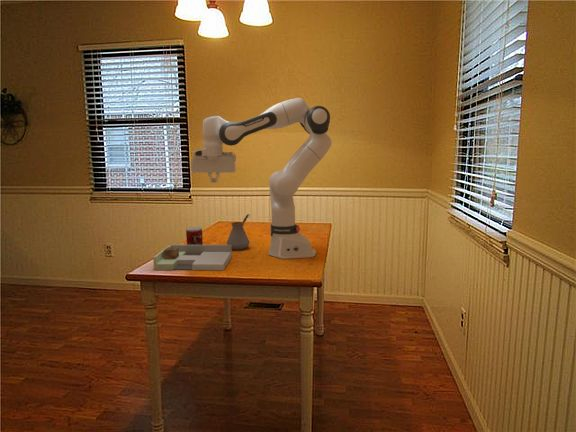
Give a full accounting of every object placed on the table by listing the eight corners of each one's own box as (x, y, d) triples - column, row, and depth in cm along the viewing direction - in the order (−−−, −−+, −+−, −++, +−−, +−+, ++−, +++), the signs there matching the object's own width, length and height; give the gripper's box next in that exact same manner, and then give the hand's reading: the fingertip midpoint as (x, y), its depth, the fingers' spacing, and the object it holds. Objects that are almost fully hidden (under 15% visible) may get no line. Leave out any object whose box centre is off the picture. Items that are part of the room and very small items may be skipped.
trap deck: (231, 256, 186) (231, 244, 185) (223, 270, 165) (223, 257, 164) (170, 256, 187) (169, 244, 186) (154, 270, 166) (153, 257, 165)
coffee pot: (244, 251, 194) (243, 221, 191) (222, 250, 197) (221, 220, 194) (259, 241, 214) (258, 214, 212) (239, 240, 217) (238, 213, 215)
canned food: (187, 252, 192) (186, 230, 191) (186, 248, 200) (185, 227, 198) (203, 251, 194) (202, 229, 193) (202, 247, 202) (201, 226, 200)
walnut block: (178, 256, 178) (178, 247, 177) (175, 259, 173) (175, 250, 172) (167, 256, 178) (167, 247, 177) (164, 259, 173) (163, 250, 172)
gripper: (236, 152, 185) (237, 181, 188) (193, 152, 186) (194, 181, 188) (234, 152, 179) (235, 182, 182) (189, 152, 180) (190, 182, 182)
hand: (214, 182), depth 185 cm, fingers closed
